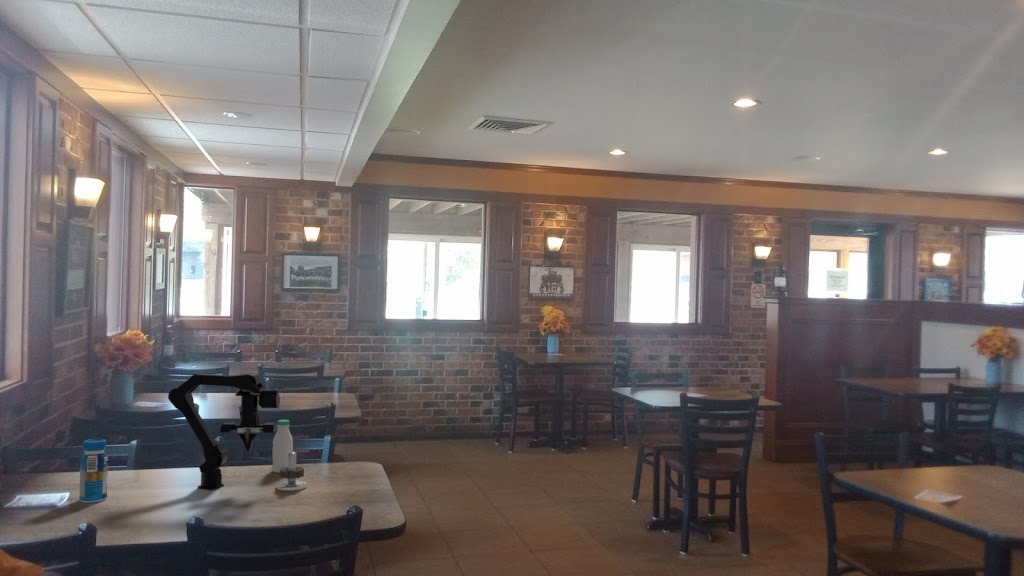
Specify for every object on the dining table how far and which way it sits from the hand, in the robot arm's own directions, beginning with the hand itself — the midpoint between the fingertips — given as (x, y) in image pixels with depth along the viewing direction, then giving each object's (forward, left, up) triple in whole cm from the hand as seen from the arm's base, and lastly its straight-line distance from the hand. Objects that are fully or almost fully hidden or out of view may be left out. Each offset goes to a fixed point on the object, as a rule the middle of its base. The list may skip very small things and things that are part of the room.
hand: (248, 451), depth 269 cm
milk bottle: (-4, +25, -13) cm, 28 cm away
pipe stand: (+14, +7, -13) cm, 20 cm away
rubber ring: (+14, +7, -9) cm, 18 cm away
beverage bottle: (-35, -34, -13) cm, 51 cm away
